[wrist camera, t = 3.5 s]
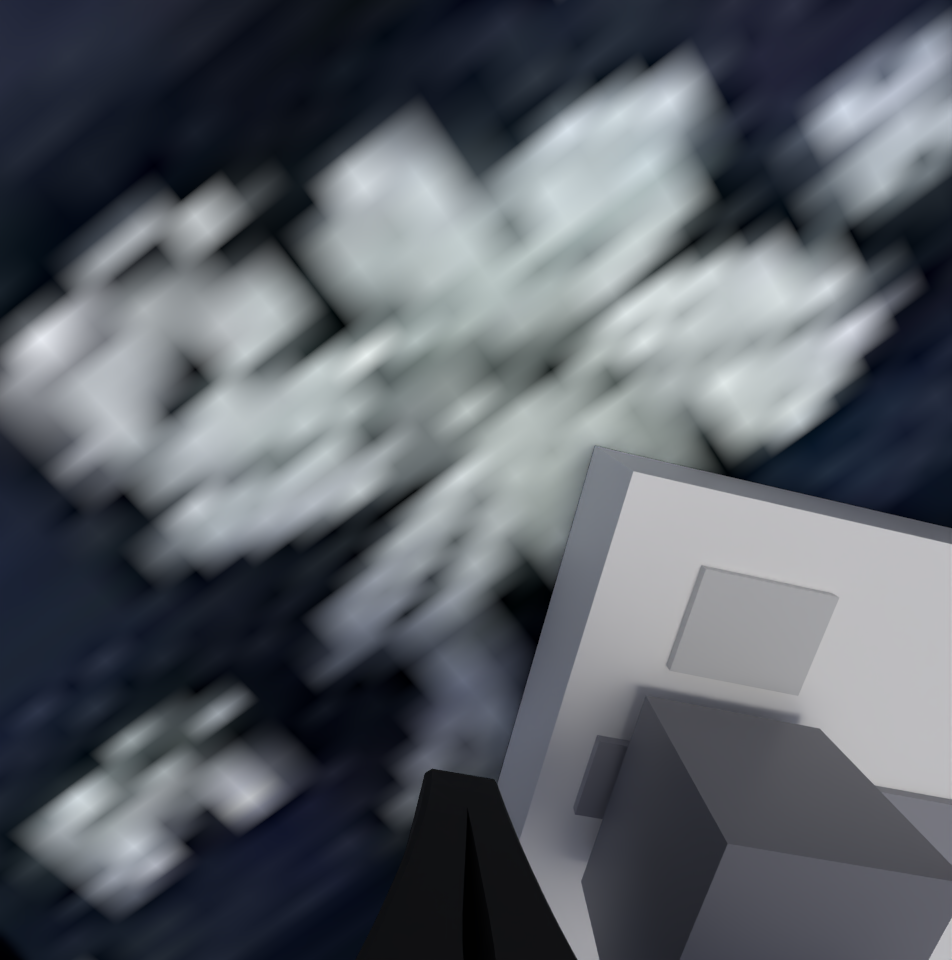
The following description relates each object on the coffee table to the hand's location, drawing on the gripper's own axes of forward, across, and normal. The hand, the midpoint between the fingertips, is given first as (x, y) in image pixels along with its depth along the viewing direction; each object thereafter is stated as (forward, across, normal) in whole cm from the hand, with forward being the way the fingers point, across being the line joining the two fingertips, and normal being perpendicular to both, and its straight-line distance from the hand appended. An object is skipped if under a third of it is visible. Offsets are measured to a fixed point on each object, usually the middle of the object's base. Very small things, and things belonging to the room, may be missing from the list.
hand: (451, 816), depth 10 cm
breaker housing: (+5, -10, 0) cm, 11 cm away
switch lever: (+1, -6, 0) cm, 6 cm away
